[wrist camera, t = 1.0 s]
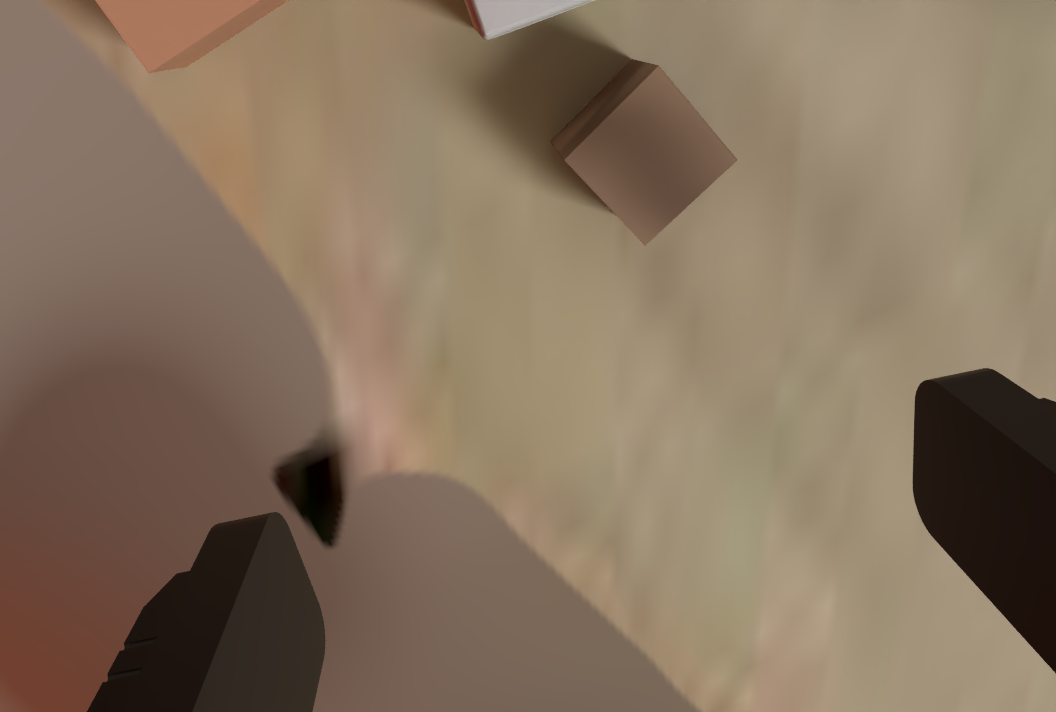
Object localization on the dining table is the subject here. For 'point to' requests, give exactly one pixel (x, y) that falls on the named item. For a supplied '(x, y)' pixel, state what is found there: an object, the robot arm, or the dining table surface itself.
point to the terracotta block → (181, 27)
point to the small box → (514, 14)
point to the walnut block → (643, 149)
